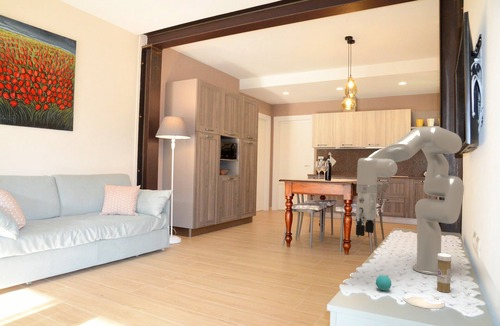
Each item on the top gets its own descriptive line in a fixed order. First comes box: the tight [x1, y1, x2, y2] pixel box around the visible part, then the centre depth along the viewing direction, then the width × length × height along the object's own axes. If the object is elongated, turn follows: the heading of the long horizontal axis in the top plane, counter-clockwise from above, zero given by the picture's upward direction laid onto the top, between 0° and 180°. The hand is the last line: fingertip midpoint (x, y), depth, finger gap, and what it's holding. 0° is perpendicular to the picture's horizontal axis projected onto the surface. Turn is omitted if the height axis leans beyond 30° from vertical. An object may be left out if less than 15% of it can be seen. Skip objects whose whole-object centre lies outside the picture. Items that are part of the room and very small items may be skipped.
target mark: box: [403, 296, 446, 310], centre depth 121 cm, size 13×13×1 cm
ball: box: [375, 274, 392, 292], centre depth 131 cm, size 6×6×6 cm
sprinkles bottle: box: [436, 252, 452, 293], centre depth 131 cm, size 5×5×13 cm
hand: (364, 233), depth 137 cm, fingers open, 9 cm apart
